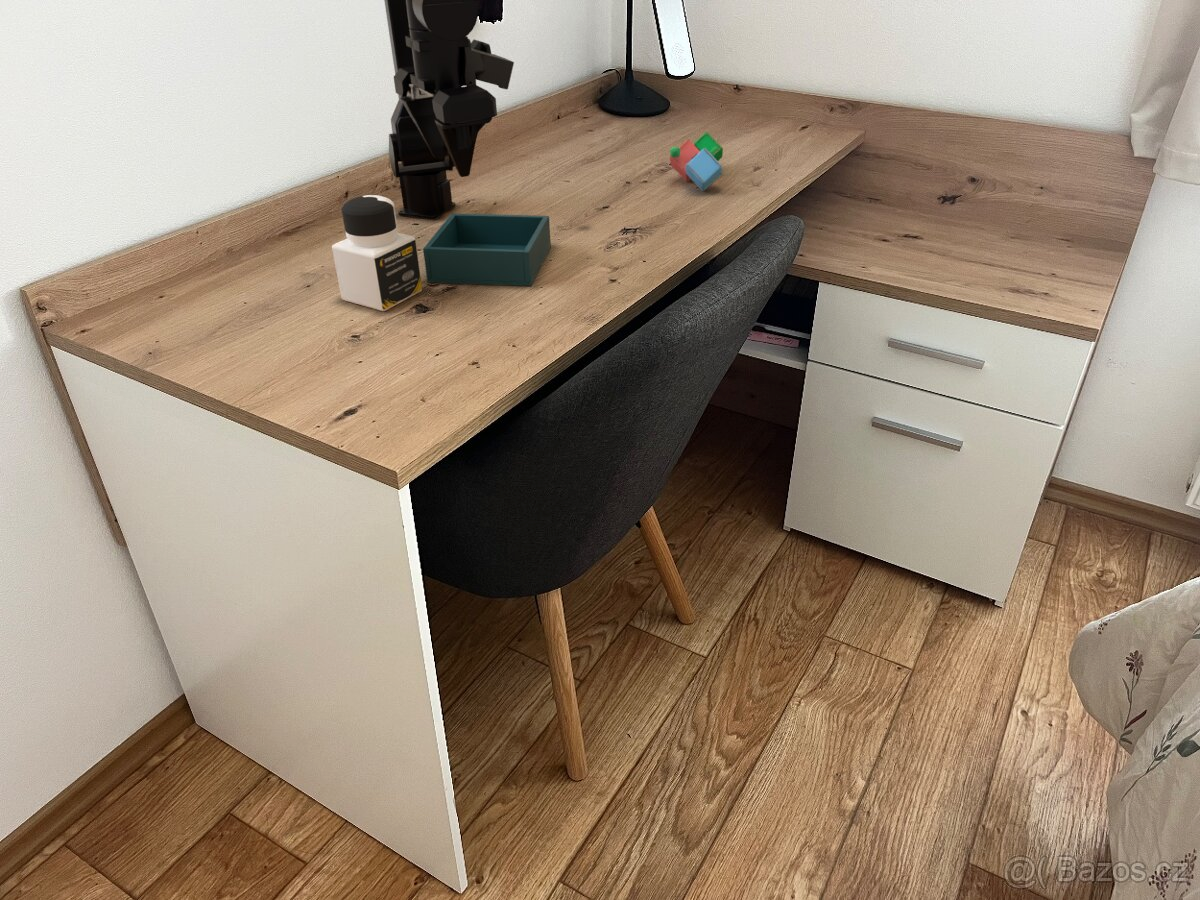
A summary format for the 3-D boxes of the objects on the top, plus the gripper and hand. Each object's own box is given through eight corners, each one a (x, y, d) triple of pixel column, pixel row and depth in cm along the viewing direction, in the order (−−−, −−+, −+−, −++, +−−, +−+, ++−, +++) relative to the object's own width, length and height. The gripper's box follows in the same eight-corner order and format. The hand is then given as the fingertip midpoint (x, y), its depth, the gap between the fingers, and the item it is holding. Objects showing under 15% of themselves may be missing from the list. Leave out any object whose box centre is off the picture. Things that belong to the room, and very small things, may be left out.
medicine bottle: (384, 312, 111) (367, 214, 105) (340, 300, 115) (322, 204, 108) (423, 291, 116) (410, 196, 110) (381, 280, 120) (365, 187, 113)
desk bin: (427, 282, 119) (422, 248, 116) (455, 244, 129) (451, 213, 127) (531, 286, 117) (528, 251, 114) (550, 247, 127) (549, 215, 125)
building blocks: (703, 206, 153) (702, 183, 141) (669, 171, 154) (666, 145, 142) (739, 173, 153) (741, 147, 141) (705, 138, 154) (705, 109, 142)
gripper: (535, 30, 101) (544, 175, 109) (472, 9, 115) (484, 139, 123) (436, 42, 97) (453, 191, 105) (384, 18, 111) (402, 152, 119)
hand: (451, 166), depth 113 cm, fingers open, 9 cm apart
